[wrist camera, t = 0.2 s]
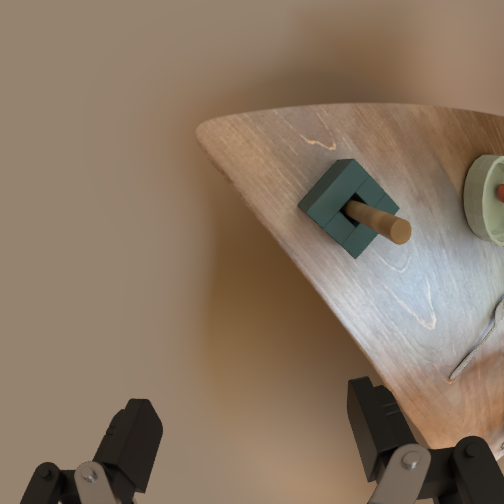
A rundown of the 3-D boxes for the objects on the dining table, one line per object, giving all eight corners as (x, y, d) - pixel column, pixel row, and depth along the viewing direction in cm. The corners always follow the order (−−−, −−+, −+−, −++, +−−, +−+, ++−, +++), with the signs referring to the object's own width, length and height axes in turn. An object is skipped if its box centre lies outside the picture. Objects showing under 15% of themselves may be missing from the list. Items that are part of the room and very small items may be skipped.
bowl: (448, 195, 32) (469, 200, 28) (486, 137, 29) (507, 136, 25) (483, 254, 35) (502, 264, 30) (518, 198, 32) (537, 203, 27)
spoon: (512, 294, 37) (517, 297, 35) (455, 380, 42) (458, 385, 41) (504, 286, 36) (510, 290, 35) (445, 377, 42) (449, 382, 40)
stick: (329, 203, 33) (385, 233, 18) (339, 192, 33) (401, 214, 18) (339, 213, 34) (400, 249, 18) (349, 202, 33) (415, 231, 18)
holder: (297, 205, 33) (305, 212, 28) (337, 159, 32) (353, 158, 26) (340, 244, 35) (355, 259, 29) (378, 201, 33) (400, 208, 27)
